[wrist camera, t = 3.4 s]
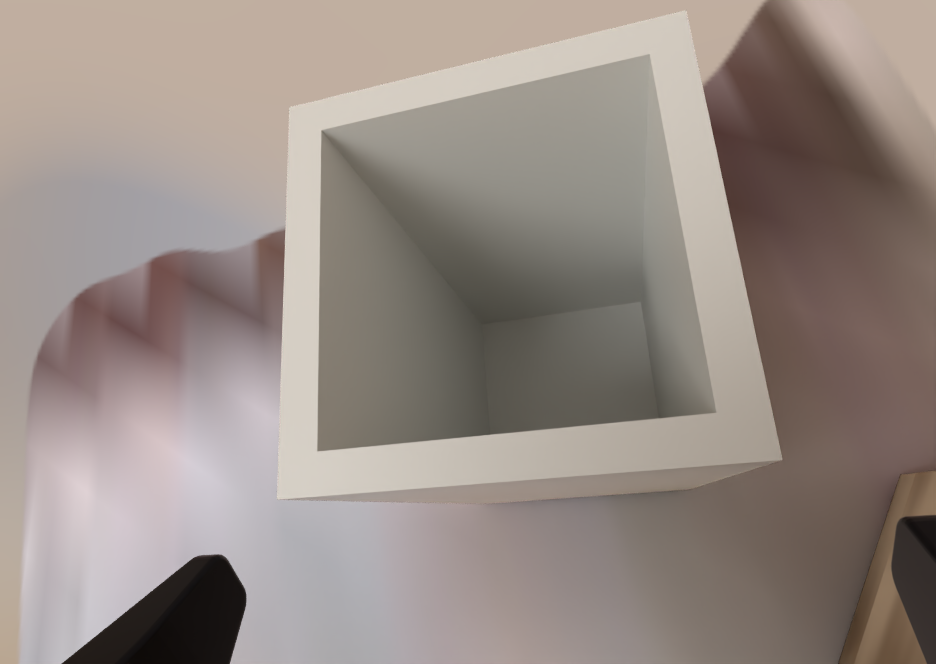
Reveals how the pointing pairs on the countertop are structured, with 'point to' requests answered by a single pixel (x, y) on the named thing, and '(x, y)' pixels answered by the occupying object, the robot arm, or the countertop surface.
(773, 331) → the countertop surface
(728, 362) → the grey tote
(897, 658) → the beech crate
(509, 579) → the countertop surface
